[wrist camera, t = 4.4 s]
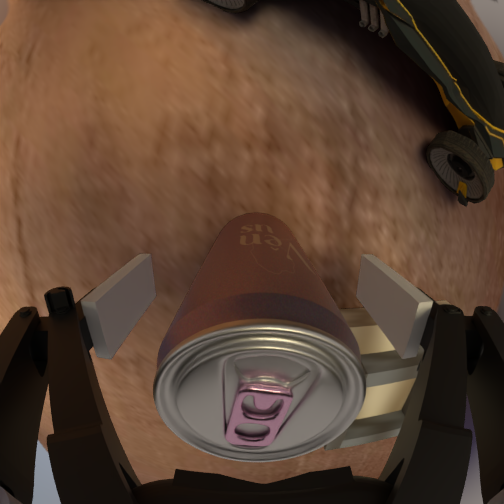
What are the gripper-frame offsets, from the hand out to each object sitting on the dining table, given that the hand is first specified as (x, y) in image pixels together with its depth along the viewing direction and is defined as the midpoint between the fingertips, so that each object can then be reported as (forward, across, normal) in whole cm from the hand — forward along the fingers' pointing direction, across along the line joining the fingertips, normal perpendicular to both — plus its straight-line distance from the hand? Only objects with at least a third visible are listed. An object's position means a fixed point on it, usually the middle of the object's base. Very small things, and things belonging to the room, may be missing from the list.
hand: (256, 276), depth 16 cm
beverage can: (+5, 0, 0) cm, 5 cm away
